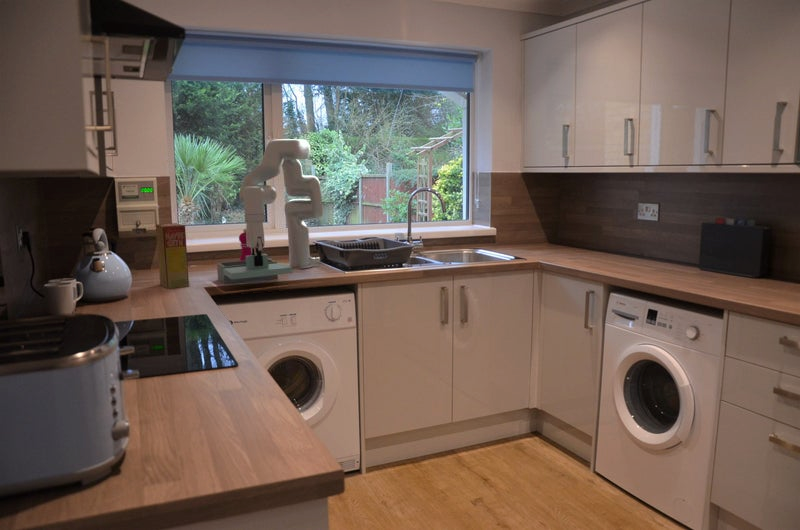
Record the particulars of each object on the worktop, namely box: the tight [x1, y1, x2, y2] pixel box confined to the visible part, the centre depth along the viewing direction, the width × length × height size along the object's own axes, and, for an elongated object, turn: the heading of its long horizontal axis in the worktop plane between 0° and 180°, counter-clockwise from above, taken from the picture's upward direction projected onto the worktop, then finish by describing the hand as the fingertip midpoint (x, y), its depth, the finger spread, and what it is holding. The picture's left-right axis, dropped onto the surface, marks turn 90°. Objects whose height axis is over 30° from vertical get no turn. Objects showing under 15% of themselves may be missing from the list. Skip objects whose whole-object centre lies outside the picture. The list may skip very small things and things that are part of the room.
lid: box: [223, 253, 293, 279], centre depth 252 cm, size 24×14×7 cm, turn 118°
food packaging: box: [155, 222, 190, 290], centre depth 261 cm, size 13×9×25 cm
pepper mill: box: [238, 228, 252, 261], centre depth 285 cm, size 7×7×20 cm
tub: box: [216, 257, 279, 285], centre depth 268 cm, size 22×12×8 cm, turn 118°
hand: (257, 264), depth 252 cm, fingers closed on lid, 3 cm apart
